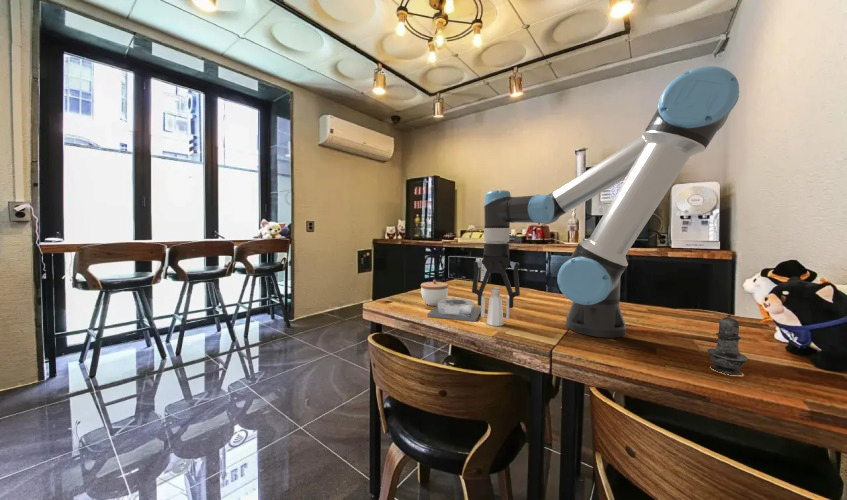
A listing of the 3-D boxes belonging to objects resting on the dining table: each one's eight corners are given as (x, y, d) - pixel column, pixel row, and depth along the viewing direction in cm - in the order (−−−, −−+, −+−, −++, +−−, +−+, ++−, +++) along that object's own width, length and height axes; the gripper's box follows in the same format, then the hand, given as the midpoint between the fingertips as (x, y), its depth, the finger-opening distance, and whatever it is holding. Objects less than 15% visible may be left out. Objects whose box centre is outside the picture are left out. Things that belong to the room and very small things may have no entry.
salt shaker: (500, 327, 90) (501, 290, 89) (483, 324, 93) (484, 288, 92) (506, 322, 95) (507, 287, 94) (489, 319, 97) (490, 285, 97)
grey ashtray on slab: (481, 310, 109) (482, 297, 109) (475, 321, 96) (475, 306, 95) (438, 306, 114) (439, 294, 114) (427, 316, 101) (427, 302, 101)
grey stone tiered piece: (725, 364, 65) (728, 309, 64) (755, 377, 59) (760, 317, 59) (698, 365, 65) (701, 309, 64) (726, 378, 59) (730, 317, 58)
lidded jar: (452, 302, 120) (453, 279, 120) (439, 308, 111) (439, 283, 111) (429, 299, 126) (429, 277, 126) (415, 304, 117) (415, 280, 117)
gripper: (530, 242, 93) (528, 316, 94) (466, 241, 99) (465, 311, 100) (531, 243, 85) (529, 323, 87) (461, 242, 92) (461, 317, 93)
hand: (495, 316), depth 94 cm, fingers open, 7 cm apart
